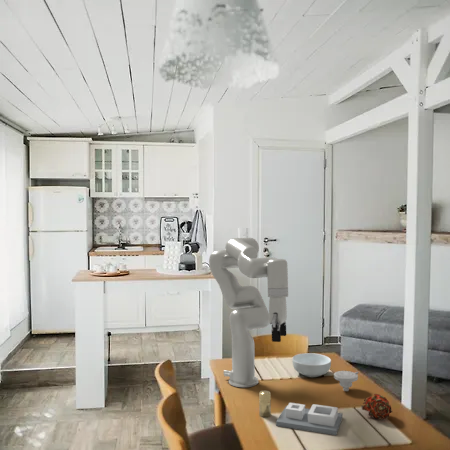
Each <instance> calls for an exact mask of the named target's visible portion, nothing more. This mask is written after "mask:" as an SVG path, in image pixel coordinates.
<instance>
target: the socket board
mask: <svg viewBox="0 0 450 450" xmlns="http://www.w3.org/2000/svg"><path fill="white" fill-rule="evenodd" d="M338 409H339V408H338V407H336V406H329V405H322V404H314V403H313V404H312V405H311V407H310V408H306V404H302V403H297V402H296V403H295V402H288V405H286V406H284V408H283V410H282V411H281V413H280V415H279V416H278V418H277V419H276V421H275V426H276V427H282V428H287V429H288V428H289V429H293V430H294V429H295V430H302V431H308V432H313V433H318V434H319V433H320V434H326V435H333V436H337V435H338V432H339V429H340V427H341V422H342V420H343V413H341V412H339V410H338Z"/></svg>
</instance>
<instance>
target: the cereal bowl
mask: <svg viewBox="0 0 450 450" xmlns="http://www.w3.org/2000/svg"><path fill="white" fill-rule="evenodd" d="M291 362H292V366H293V369H294V370H295V371H296V372H297V373H298V374H301V375H303V376H305V377H308V378H317V377H320V376H323V375H325V374H327V373H328V372H329V371H330V369H331V365H332V359H331V358H330V357H329V356H327V355H324V354H320V353H314V352H313V353H312V352H309V353H308V352H307V353H305V352H303V353H297V354H295V355H294V356H292V359H291Z"/></svg>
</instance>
